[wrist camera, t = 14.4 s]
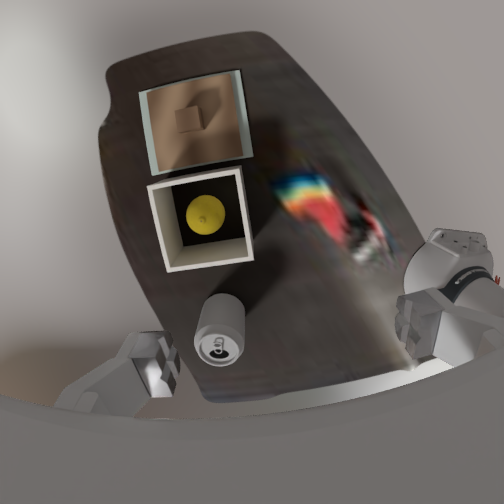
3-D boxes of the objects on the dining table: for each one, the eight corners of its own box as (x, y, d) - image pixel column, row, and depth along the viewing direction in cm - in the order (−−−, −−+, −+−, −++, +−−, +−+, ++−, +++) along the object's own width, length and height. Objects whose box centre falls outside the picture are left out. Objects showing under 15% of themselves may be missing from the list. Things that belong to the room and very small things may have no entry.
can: (205, 327, 53) (196, 370, 42) (200, 291, 51) (188, 331, 39) (246, 326, 53) (245, 369, 42) (243, 290, 51) (242, 329, 39)
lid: (230, 75, 38) (228, 66, 34) (243, 155, 43) (242, 156, 38) (148, 93, 39) (137, 87, 34) (160, 171, 43) (150, 174, 38)
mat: (239, 70, 38) (239, 69, 38) (253, 156, 43) (253, 156, 43) (139, 93, 39) (138, 92, 39) (152, 175, 44) (152, 175, 43)
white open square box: (241, 165, 44) (239, 168, 35) (253, 239, 47) (253, 260, 39) (165, 179, 44) (147, 186, 36) (181, 250, 48) (167, 272, 40)
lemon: (192, 191, 45) (180, 199, 37) (227, 192, 45) (223, 201, 37) (192, 225, 47) (181, 240, 39) (226, 226, 47) (221, 242, 39)
